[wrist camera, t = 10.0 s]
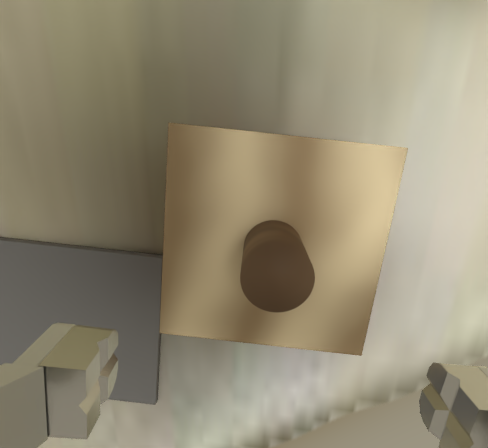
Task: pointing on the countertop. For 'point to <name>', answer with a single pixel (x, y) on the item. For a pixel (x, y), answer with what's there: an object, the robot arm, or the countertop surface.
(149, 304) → the mat
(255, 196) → the lid
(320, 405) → the countertop surface
